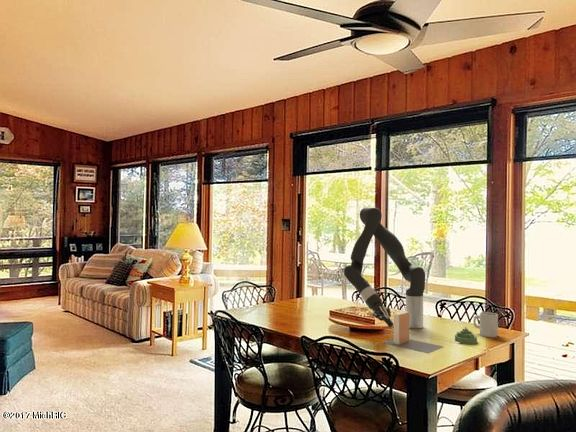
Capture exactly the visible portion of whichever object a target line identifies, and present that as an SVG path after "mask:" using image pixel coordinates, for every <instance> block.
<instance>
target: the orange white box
mask: <svg viewBox="0 0 576 432" xmlns="http://www.w3.org/2000/svg"><path fill="white" fill-rule="evenodd" d="M393 324H394V325H393V339H394V344H402V343H405V342H407V341H409V339H410V328H409V312H407V311H406V310H402V311H398V312H396V313H393Z"/></svg>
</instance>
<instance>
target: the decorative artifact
mask: <svg viewBox="0 0 576 432" xmlns="http://www.w3.org/2000/svg"><path fill="white" fill-rule="evenodd" d="M464 327H465V328H462V330H460V331H456V334H454V342H459V344H464V345H475V344H477V343H478V336H476V335H475V334H474V332H473V331H471V330H469V328H467V327H466V326H464Z"/></svg>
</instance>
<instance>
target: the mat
mask: <svg viewBox="0 0 576 432" xmlns="http://www.w3.org/2000/svg"><path fill="white" fill-rule="evenodd" d="M382 344H384V345H385V344H386V345H390V346H395V347H397V348H398V347H399V348H403V349H407V350H412V351H415V352H416V351H417V352H420V353H424V354H430V353H433V352H435V351H438V350H440V349H442V348H445V346H444V345H439V344H435V343H431V342H430V343H429V342H425V341H420V340H415V339H411V338H409V341H407V342H405V343H402V344H394V338H392V339H388V340H386V341H383V342H382Z"/></svg>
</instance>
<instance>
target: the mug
mask: <svg viewBox="0 0 576 432" xmlns="http://www.w3.org/2000/svg"><path fill="white" fill-rule="evenodd" d="M477 319H479V325H478V324H477V323H476V321H477ZM473 326H474V328H476V329H479V335H480V336H482V337H485V338H486V337H487V338H498V337H499V315H498V313H495V312H491V311H482V312H480V313H479V314H476V315H474V316H473ZM497 336H498V337H497Z"/></svg>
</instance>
